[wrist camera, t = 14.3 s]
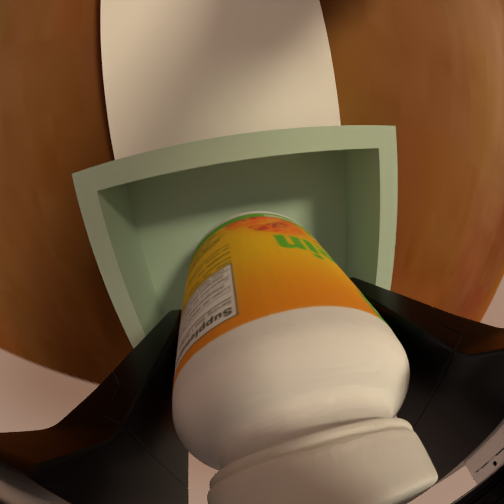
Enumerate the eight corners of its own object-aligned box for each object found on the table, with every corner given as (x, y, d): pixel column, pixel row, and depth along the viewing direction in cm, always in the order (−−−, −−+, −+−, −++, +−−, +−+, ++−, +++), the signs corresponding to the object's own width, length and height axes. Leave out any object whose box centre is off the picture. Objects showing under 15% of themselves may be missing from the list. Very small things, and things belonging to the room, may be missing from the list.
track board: (298, -48, 9) (317, -79, 5) (336, 334, 20) (356, 369, 17) (107, -24, 8) (86, -52, 5) (182, 363, 20) (180, 404, 16)
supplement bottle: (342, 257, 12) (493, 444, 3) (264, 341, 13) (317, 541, 4) (242, 179, 10) (406, 467, 1) (164, 287, 11) (123, 540, 2)
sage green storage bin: (333, 125, 13) (395, 125, 8) (338, 302, 18) (377, 359, 13) (122, 158, 12) (71, 173, 7) (172, 333, 17) (163, 402, 12)
